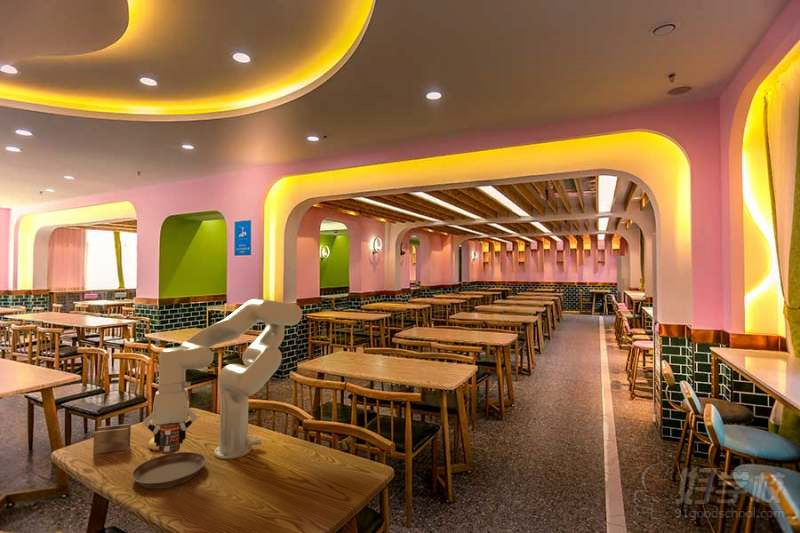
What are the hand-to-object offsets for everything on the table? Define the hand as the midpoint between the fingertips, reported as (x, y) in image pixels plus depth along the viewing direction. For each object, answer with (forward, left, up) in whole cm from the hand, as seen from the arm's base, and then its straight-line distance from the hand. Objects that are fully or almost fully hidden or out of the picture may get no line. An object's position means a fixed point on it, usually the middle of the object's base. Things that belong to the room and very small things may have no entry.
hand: (169, 442), depth 132 cm
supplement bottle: (0, 0, -3) cm, 3 cm away
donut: (+5, -25, -11) cm, 28 cm away
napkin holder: (+21, -25, -10) cm, 34 cm away
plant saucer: (0, 0, -11) cm, 11 cm away
